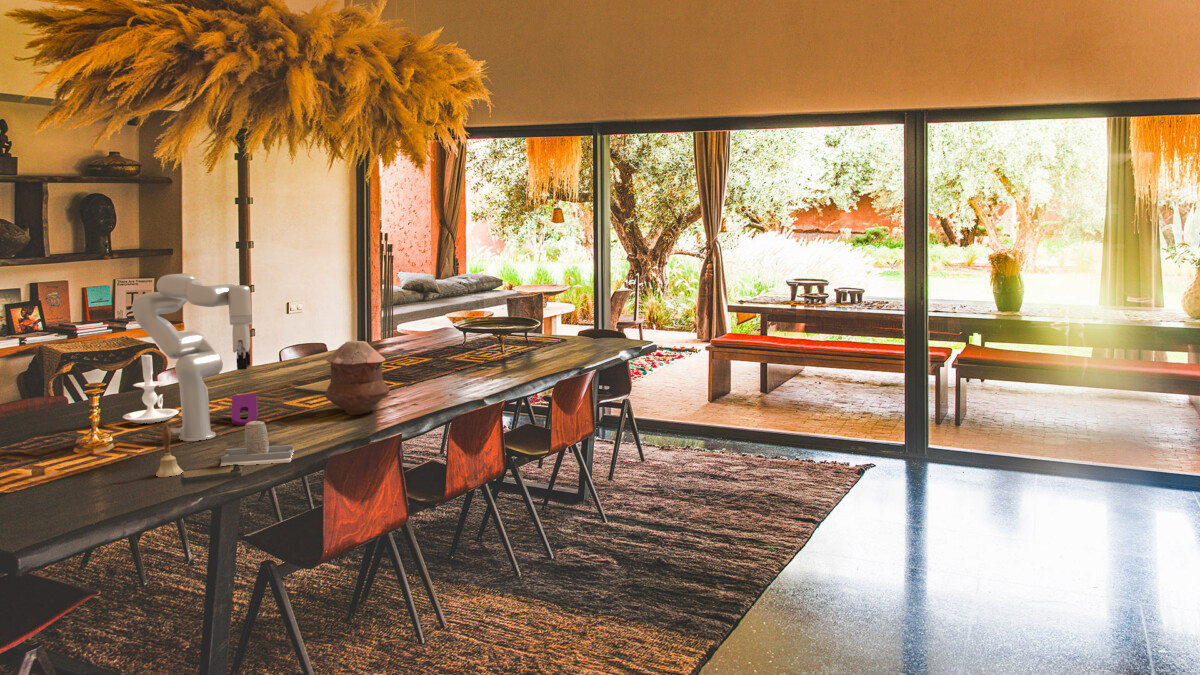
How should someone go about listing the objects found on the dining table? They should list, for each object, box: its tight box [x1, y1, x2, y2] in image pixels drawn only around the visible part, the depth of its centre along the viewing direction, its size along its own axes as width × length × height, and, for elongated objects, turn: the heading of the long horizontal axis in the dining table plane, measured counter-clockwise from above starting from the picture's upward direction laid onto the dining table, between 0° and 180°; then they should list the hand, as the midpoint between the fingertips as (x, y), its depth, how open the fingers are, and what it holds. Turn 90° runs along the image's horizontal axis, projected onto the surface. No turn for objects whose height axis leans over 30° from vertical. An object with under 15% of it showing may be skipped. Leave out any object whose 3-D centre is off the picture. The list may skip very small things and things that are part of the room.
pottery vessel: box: [324, 340, 390, 415], centre depth 391 cm, size 26×26×30 cm
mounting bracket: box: [231, 393, 259, 426], centre depth 378 cm, size 9×8×18 cm
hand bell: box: [155, 424, 184, 478], centre depth 301 cm, size 8×8×16 cm
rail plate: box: [220, 444, 295, 467], centre depth 319 cm, size 22×14×3 cm, turn 103°
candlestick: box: [122, 354, 180, 424], centre depth 379 cm, size 21×25×28 cm
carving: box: [244, 420, 270, 454], centre depth 318 cm, size 6×8×12 cm
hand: (243, 367), depth 337 cm, fingers open, 9 cm apart
